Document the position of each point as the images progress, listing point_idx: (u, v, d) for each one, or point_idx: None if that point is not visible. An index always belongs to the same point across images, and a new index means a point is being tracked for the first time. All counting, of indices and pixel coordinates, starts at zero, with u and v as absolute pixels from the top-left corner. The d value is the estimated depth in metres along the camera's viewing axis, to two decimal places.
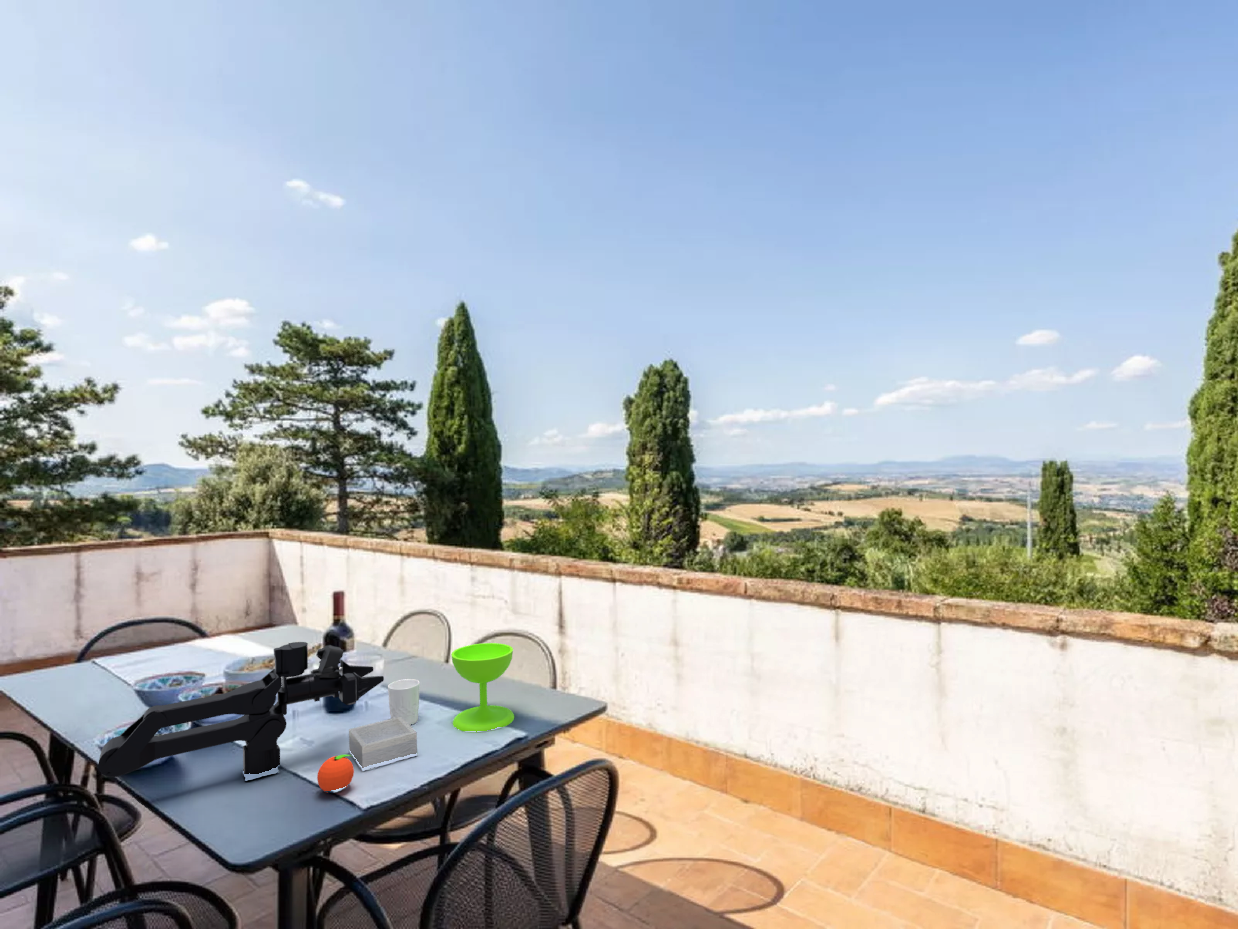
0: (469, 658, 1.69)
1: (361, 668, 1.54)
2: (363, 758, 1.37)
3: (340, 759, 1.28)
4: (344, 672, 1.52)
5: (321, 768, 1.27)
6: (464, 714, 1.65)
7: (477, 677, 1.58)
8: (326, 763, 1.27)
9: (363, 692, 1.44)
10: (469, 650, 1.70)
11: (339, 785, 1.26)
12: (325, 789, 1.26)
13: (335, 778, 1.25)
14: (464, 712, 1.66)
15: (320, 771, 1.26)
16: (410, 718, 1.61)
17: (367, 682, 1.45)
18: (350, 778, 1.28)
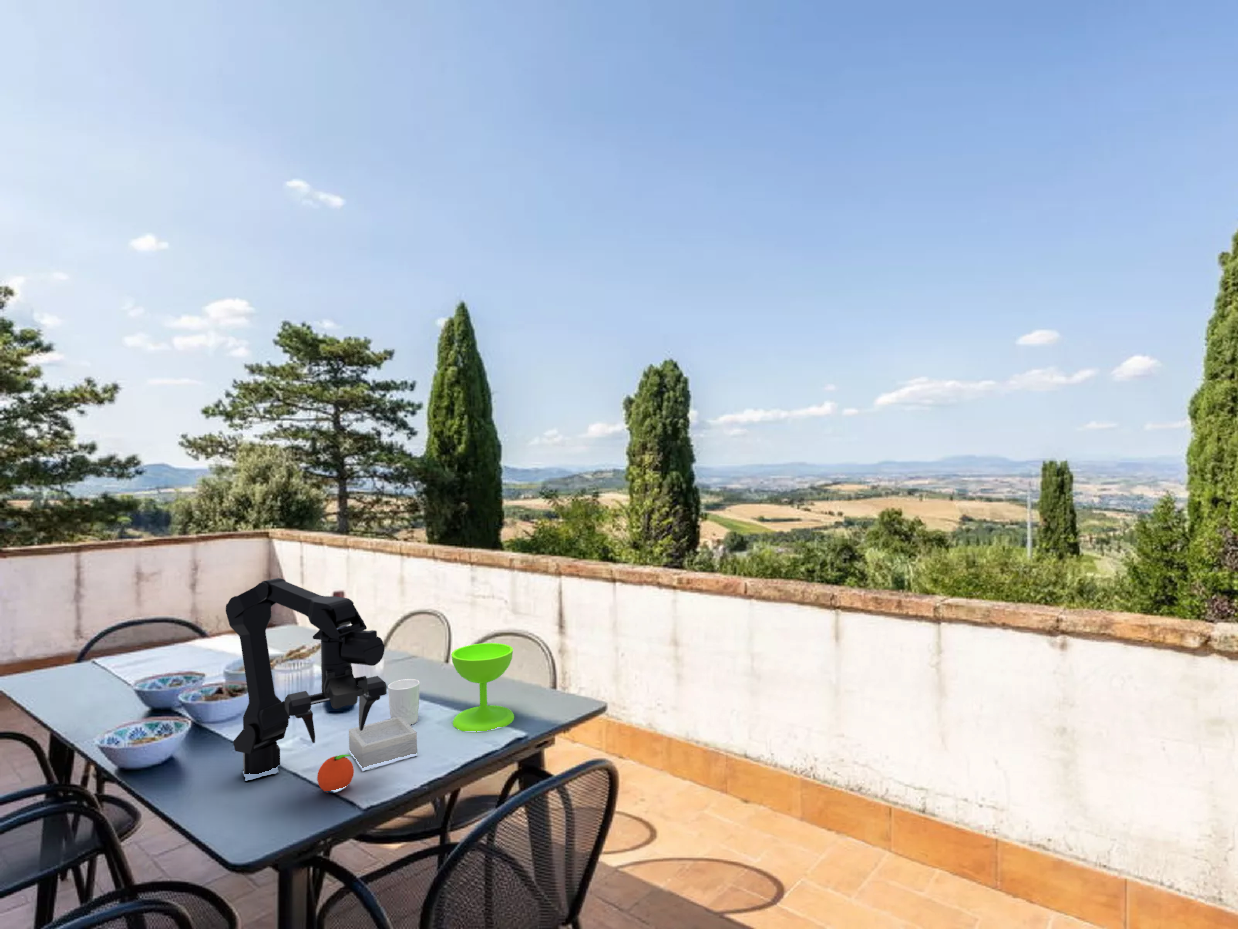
0: (469, 658, 1.69)
1: (361, 718, 1.31)
2: (363, 758, 1.37)
3: (340, 759, 1.28)
4: (363, 698, 1.32)
5: (321, 768, 1.27)
6: (464, 714, 1.65)
7: (477, 677, 1.58)
8: (326, 763, 1.27)
9: None
10: (469, 650, 1.70)
11: (339, 785, 1.26)
12: (325, 789, 1.26)
13: (335, 778, 1.25)
14: (464, 712, 1.66)
15: (320, 771, 1.26)
16: (410, 718, 1.61)
17: None
18: (350, 778, 1.28)
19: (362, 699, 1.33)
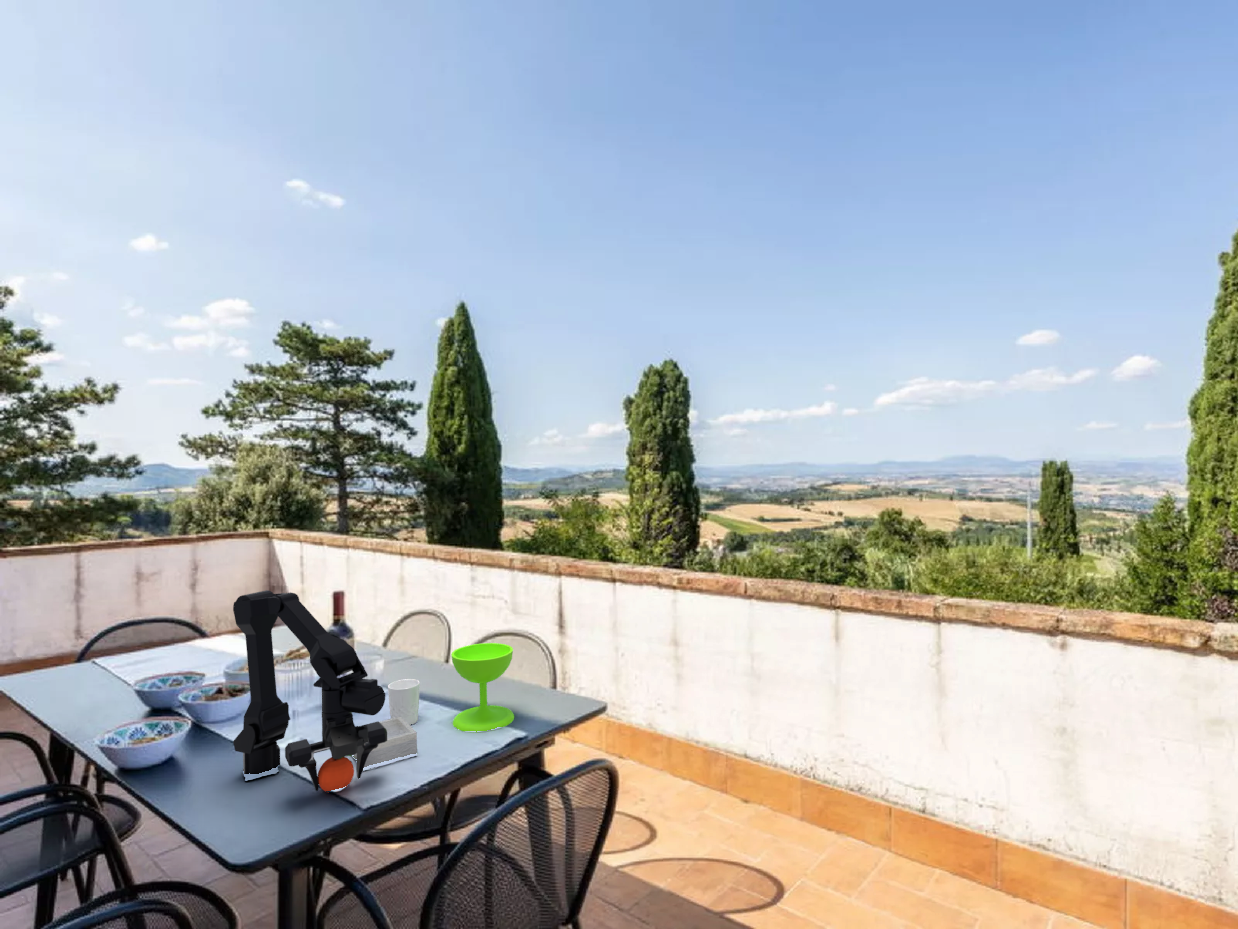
0: (469, 658, 1.69)
1: (359, 766, 1.31)
2: None
3: (340, 759, 1.28)
4: (360, 746, 1.31)
5: (321, 768, 1.27)
6: (464, 714, 1.65)
7: (477, 677, 1.58)
8: (327, 763, 1.27)
9: None
10: (469, 650, 1.70)
11: (339, 785, 1.26)
12: (325, 789, 1.26)
13: (335, 777, 1.25)
14: (464, 712, 1.66)
15: (320, 771, 1.26)
16: (410, 718, 1.61)
17: None
18: (350, 778, 1.28)
19: (359, 747, 1.32)
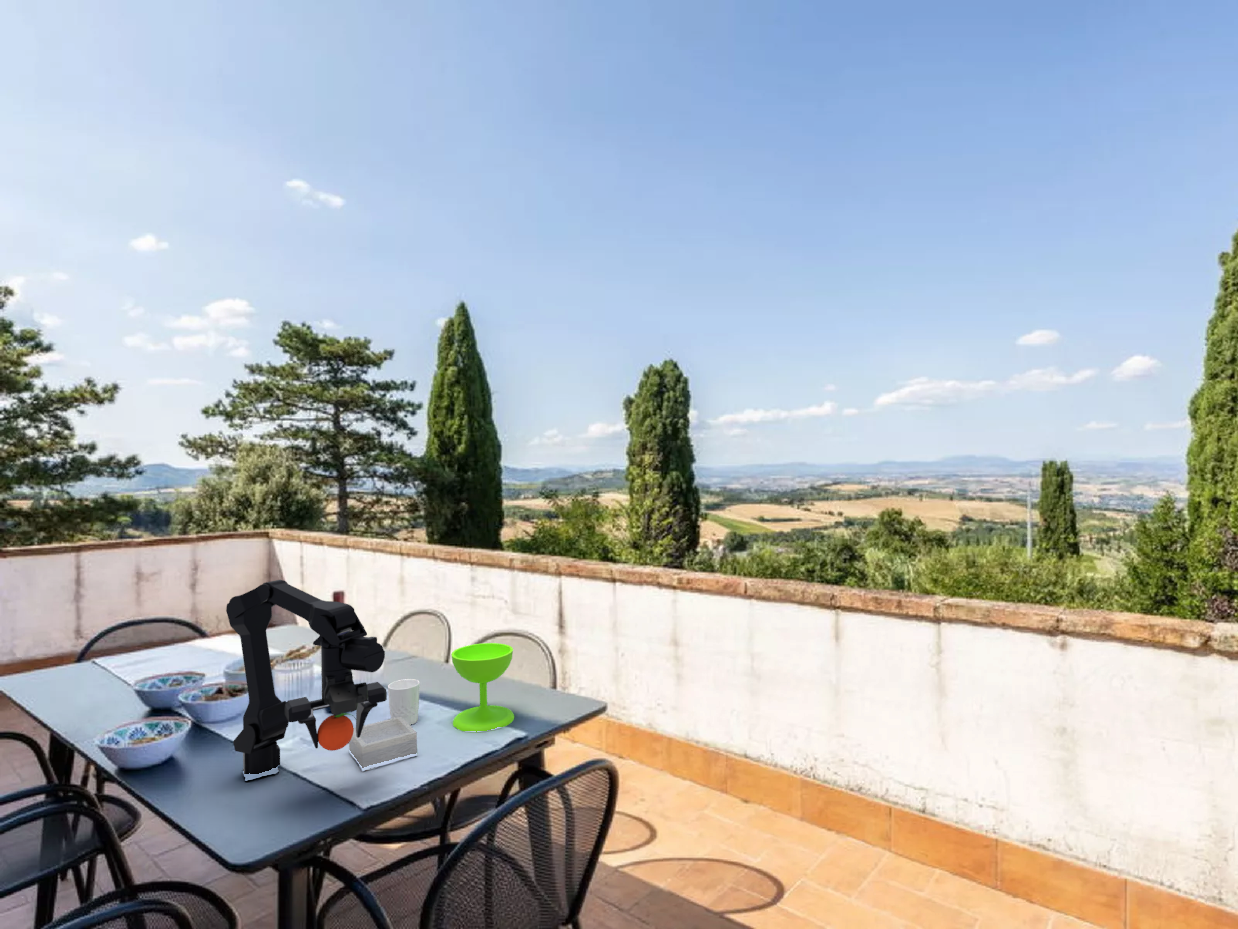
0: (469, 658, 1.69)
1: (358, 724, 1.31)
2: (363, 758, 1.37)
3: (340, 717, 1.28)
4: (360, 705, 1.31)
5: (321, 725, 1.27)
6: (464, 714, 1.65)
7: (477, 677, 1.58)
8: (326, 721, 1.27)
9: None
10: (469, 650, 1.70)
11: (338, 742, 1.26)
12: (325, 746, 1.26)
13: (334, 734, 1.26)
14: (464, 712, 1.66)
15: (320, 728, 1.27)
16: (410, 718, 1.61)
17: None
18: (350, 736, 1.28)
19: (359, 706, 1.32)
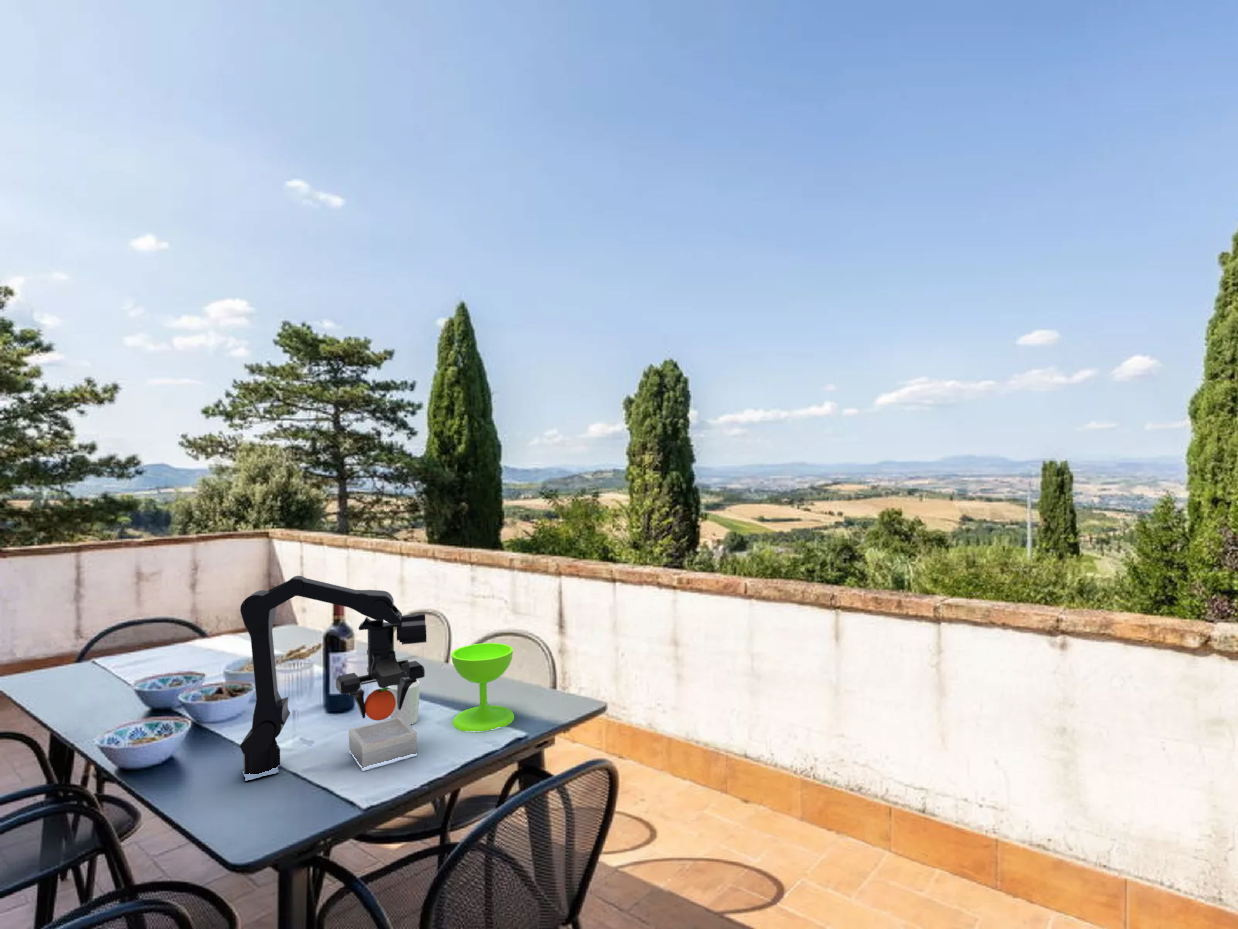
0: (469, 658, 1.69)
1: (400, 698, 1.47)
2: (363, 758, 1.37)
3: (384, 691, 1.44)
4: (401, 681, 1.47)
5: (367, 698, 1.43)
6: (464, 714, 1.65)
7: (477, 677, 1.58)
8: (372, 694, 1.43)
9: (353, 695, 1.43)
10: (469, 650, 1.70)
11: (383, 713, 1.42)
12: (371, 716, 1.42)
13: (380, 706, 1.41)
14: (464, 712, 1.66)
15: (367, 701, 1.42)
16: (410, 718, 1.61)
17: (358, 701, 1.42)
18: (393, 707, 1.44)
19: None
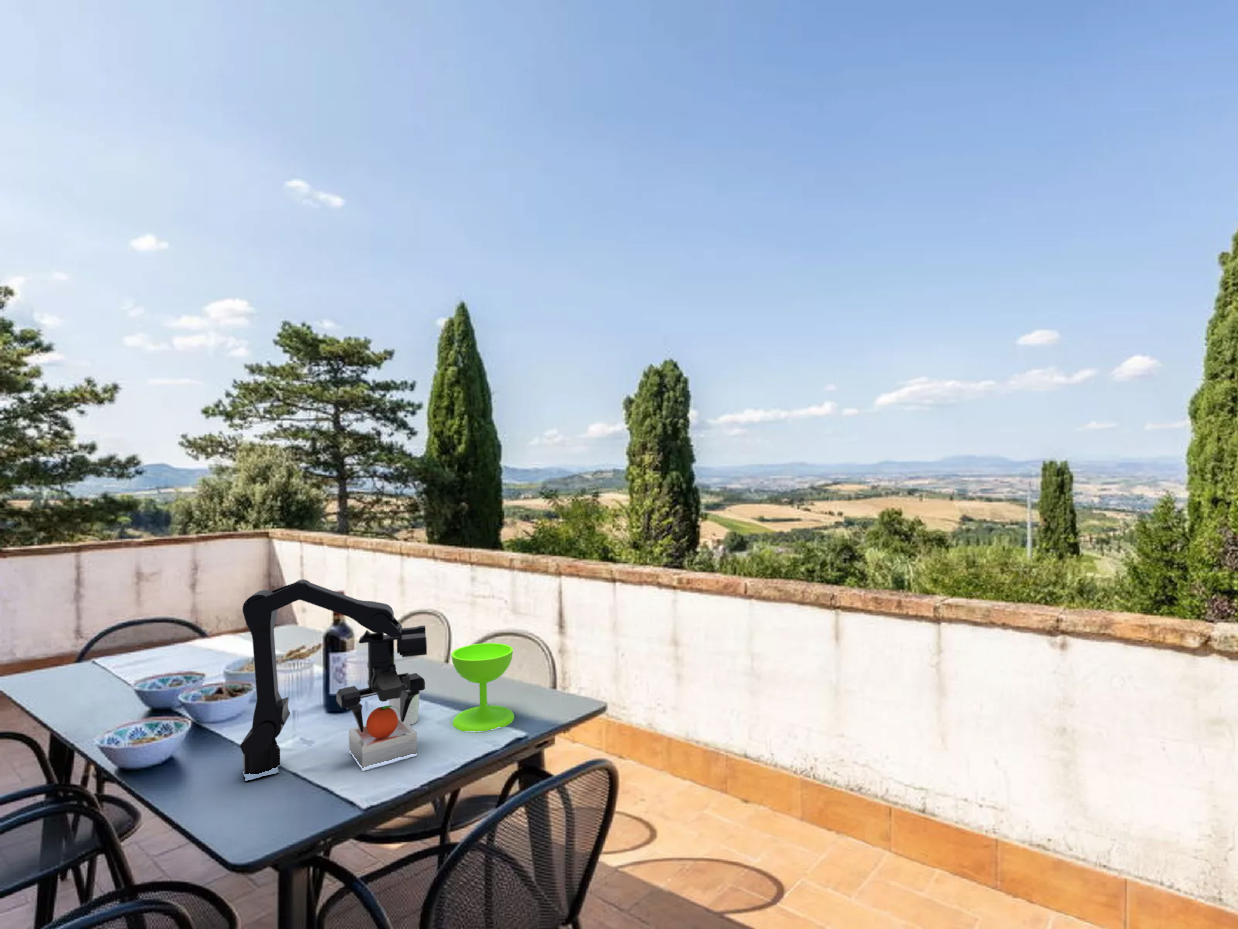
0: (469, 658, 1.69)
1: (403, 710, 1.47)
2: (363, 758, 1.37)
3: (386, 709, 1.45)
4: (404, 693, 1.48)
5: (370, 716, 1.43)
6: (464, 714, 1.65)
7: (477, 677, 1.58)
8: (374, 712, 1.43)
9: None
10: (469, 650, 1.70)
11: (386, 731, 1.42)
12: (374, 734, 1.42)
13: (382, 724, 1.42)
14: (464, 712, 1.66)
15: (369, 719, 1.43)
16: (410, 718, 1.61)
17: (356, 715, 1.41)
18: (395, 725, 1.44)
19: (403, 694, 1.48)
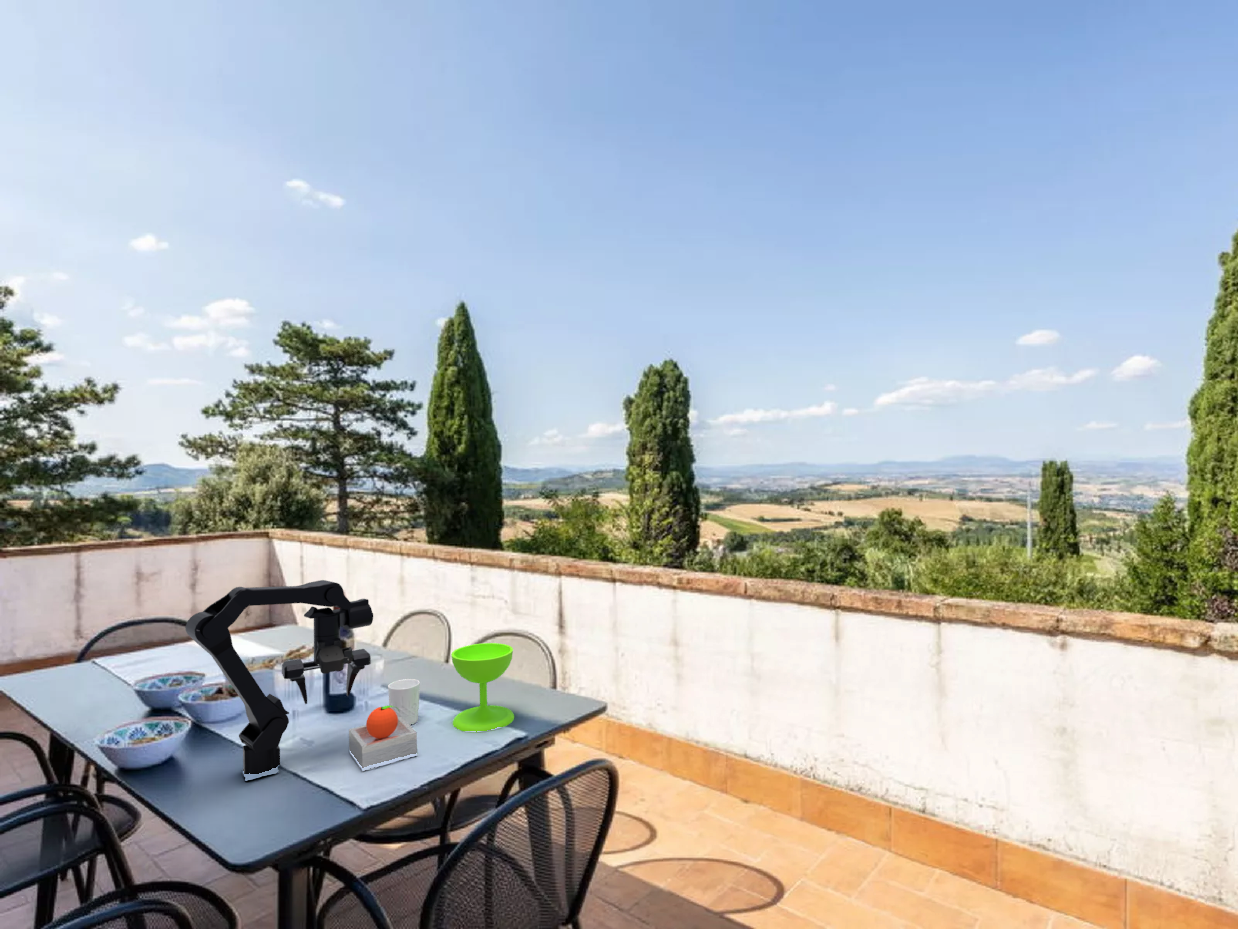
0: (469, 658, 1.69)
1: (348, 684, 1.51)
2: (363, 758, 1.37)
3: (386, 709, 1.45)
4: (350, 667, 1.51)
5: (370, 716, 1.43)
6: (464, 714, 1.65)
7: (477, 677, 1.58)
8: (374, 712, 1.43)
9: None
10: (469, 650, 1.70)
11: (386, 731, 1.42)
12: (374, 734, 1.42)
13: (382, 724, 1.42)
14: (464, 712, 1.66)
15: (369, 719, 1.43)
16: (410, 718, 1.61)
17: None
18: (395, 725, 1.44)
19: (349, 668, 1.52)
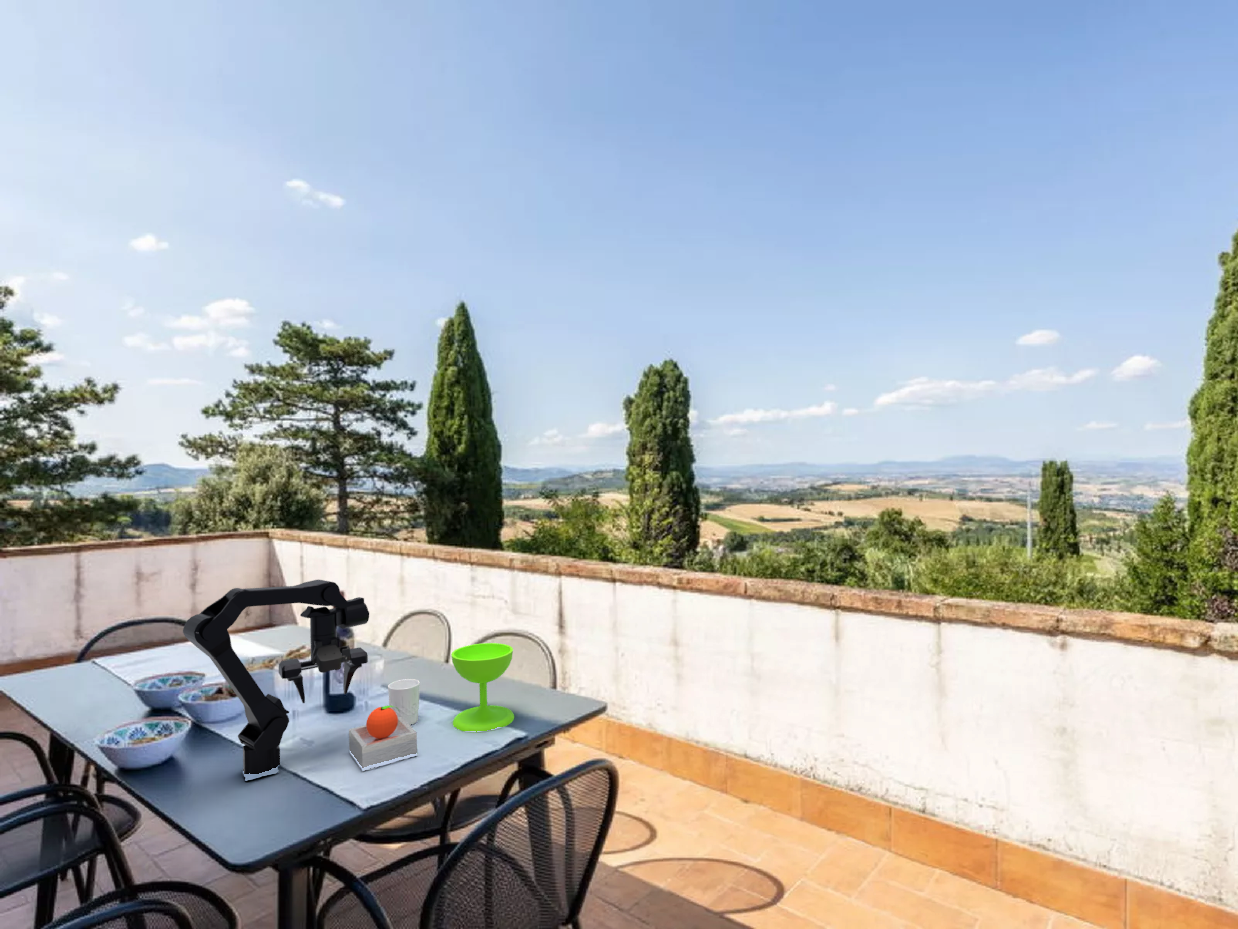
0: (469, 658, 1.69)
1: (345, 683, 1.51)
2: (363, 758, 1.37)
3: (386, 709, 1.45)
4: (347, 666, 1.52)
5: (370, 716, 1.43)
6: (464, 714, 1.65)
7: (477, 677, 1.58)
8: (374, 712, 1.43)
9: (293, 681, 1.46)
10: (469, 650, 1.70)
11: (386, 731, 1.42)
12: (374, 734, 1.42)
13: (382, 724, 1.42)
14: (464, 712, 1.66)
15: (369, 719, 1.43)
16: (410, 718, 1.61)
17: None
18: (395, 725, 1.44)
19: (346, 667, 1.52)
